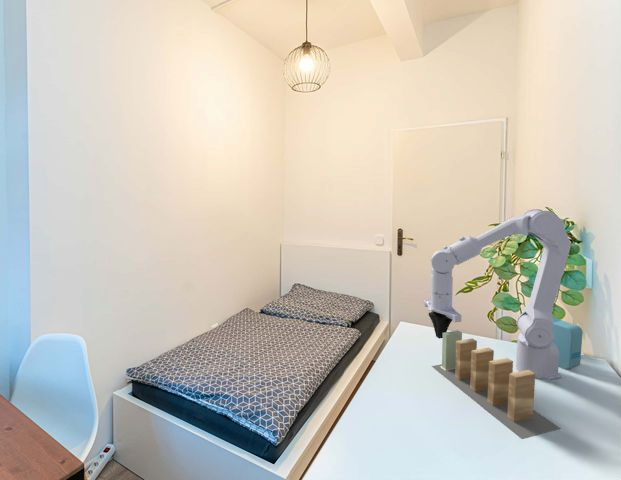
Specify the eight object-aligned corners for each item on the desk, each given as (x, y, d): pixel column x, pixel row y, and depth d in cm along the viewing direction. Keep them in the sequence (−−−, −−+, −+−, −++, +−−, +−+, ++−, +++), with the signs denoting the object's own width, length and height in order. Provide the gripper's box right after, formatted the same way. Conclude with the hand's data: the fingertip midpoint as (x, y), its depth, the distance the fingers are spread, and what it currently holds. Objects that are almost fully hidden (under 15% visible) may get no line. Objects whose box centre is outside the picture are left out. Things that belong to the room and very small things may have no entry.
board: (461, 363, 93) (461, 360, 93) (561, 432, 66) (561, 428, 65) (431, 368, 91) (431, 365, 91) (521, 442, 63) (521, 438, 63)
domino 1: (455, 377, 85) (456, 341, 84) (471, 374, 86) (472, 338, 85) (459, 380, 84) (460, 343, 82) (475, 377, 85) (476, 341, 83)
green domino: (441, 366, 90) (442, 332, 89) (457, 364, 92) (458, 330, 90) (445, 369, 89) (446, 335, 88) (460, 366, 90) (462, 332, 89)
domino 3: (487, 401, 74) (489, 361, 73) (505, 398, 76) (507, 357, 74) (492, 406, 73) (494, 364, 72) (510, 402, 74) (513, 361, 73)
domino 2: (470, 388, 80) (471, 350, 79) (487, 385, 81) (488, 347, 80) (474, 392, 78) (476, 353, 77) (492, 388, 79) (493, 350, 78)
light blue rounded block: (580, 368, 89) (583, 326, 88) (569, 371, 88) (572, 329, 86) (536, 349, 100) (539, 312, 99) (526, 352, 99) (528, 315, 97)
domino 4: (507, 417, 69) (509, 373, 68) (525, 412, 70) (528, 369, 69) (513, 422, 68) (516, 377, 66) (532, 417, 69) (535, 373, 68)
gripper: (415, 286, 99) (414, 329, 100) (445, 300, 85) (444, 350, 86) (435, 284, 100) (434, 326, 102) (468, 298, 86) (467, 346, 88)
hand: (440, 337), depth 94 cm, fingers closed
